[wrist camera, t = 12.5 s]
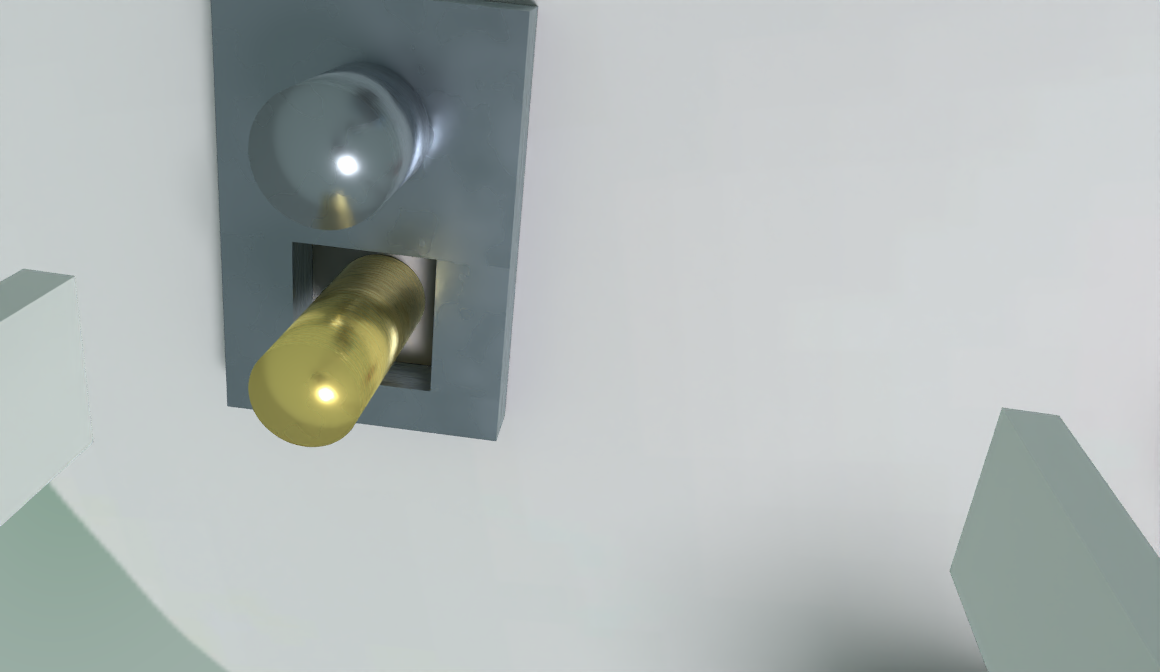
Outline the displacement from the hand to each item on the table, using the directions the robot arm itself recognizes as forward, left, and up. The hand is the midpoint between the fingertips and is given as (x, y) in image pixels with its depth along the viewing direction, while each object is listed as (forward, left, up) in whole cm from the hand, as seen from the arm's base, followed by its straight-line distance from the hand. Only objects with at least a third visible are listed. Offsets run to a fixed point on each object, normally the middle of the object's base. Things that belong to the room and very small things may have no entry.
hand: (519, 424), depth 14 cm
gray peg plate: (+6, -9, -28) cm, 30 cm away
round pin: (+10, -9, -28) cm, 31 cm away
